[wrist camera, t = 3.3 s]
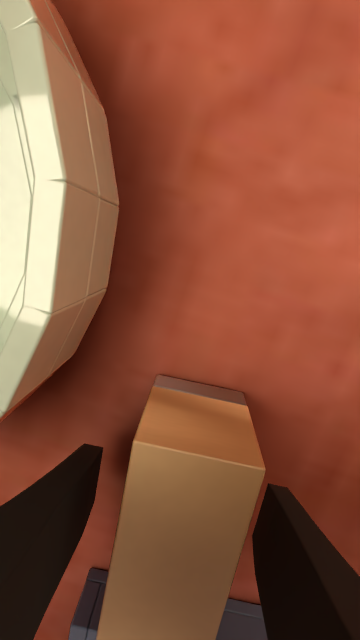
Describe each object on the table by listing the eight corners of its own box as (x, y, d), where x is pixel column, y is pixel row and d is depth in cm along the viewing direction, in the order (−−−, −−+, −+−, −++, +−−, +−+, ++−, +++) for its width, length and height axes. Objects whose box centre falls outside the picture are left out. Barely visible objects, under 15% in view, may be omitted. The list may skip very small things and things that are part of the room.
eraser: (126, 527, 13) (93, 652, 9) (156, 372, 11) (132, 440, 7) (203, 544, 13) (204, 677, 9) (244, 391, 11) (266, 469, 7)
